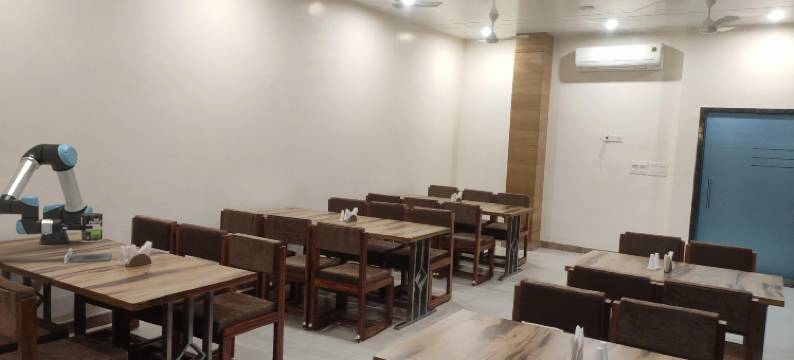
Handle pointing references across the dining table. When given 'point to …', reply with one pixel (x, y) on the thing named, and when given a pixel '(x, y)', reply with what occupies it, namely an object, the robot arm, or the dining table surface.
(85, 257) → the mat
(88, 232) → the coffee can
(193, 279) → the dining table surface
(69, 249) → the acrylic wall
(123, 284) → the dining table surface
